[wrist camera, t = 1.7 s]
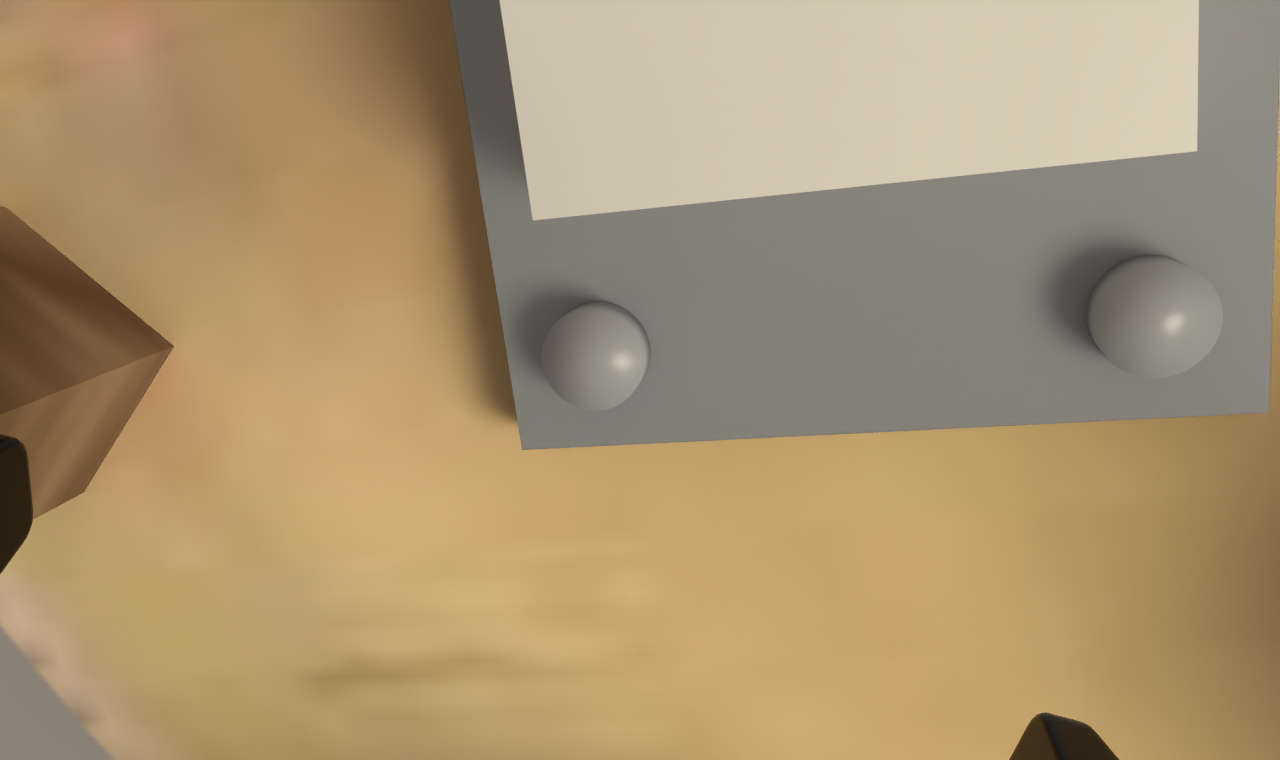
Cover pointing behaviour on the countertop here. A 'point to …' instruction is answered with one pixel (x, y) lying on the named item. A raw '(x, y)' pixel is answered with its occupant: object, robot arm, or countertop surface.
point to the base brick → (874, 212)
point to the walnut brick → (65, 364)
